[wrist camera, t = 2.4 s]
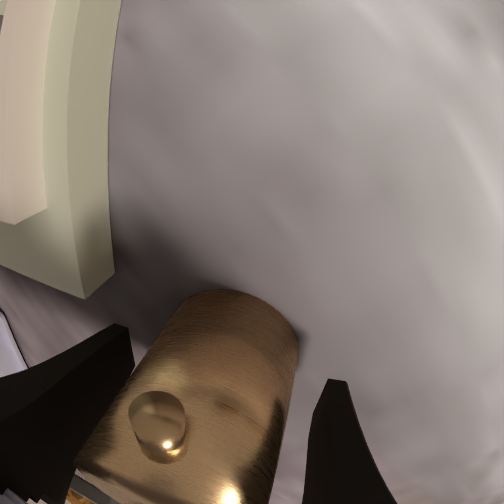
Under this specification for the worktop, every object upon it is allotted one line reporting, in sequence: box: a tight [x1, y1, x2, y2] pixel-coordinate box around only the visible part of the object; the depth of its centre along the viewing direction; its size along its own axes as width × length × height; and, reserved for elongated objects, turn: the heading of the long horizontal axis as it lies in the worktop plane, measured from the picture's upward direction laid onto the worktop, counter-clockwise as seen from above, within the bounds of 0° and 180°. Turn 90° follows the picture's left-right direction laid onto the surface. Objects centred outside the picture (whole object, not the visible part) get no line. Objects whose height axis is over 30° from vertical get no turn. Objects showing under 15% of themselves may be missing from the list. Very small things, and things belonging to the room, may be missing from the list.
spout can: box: [74, 289, 299, 504], centre depth 8 cm, size 5×6×7 cm
